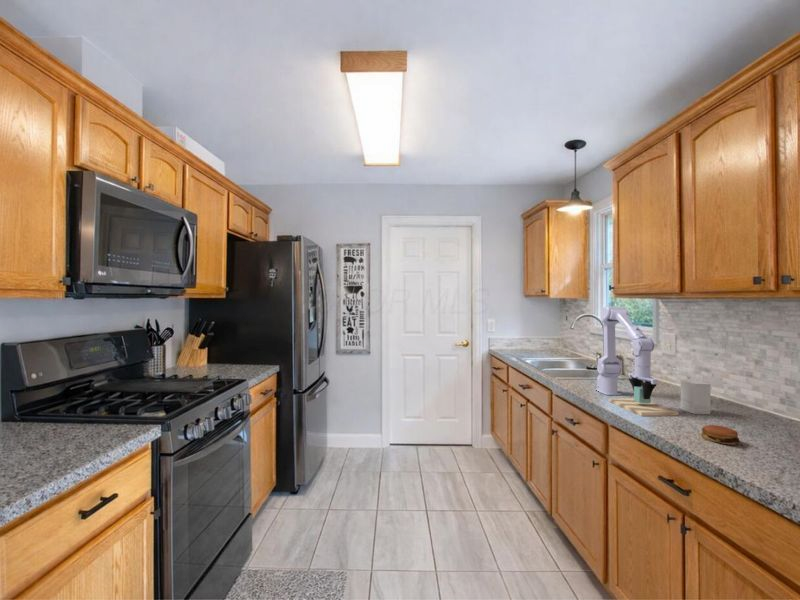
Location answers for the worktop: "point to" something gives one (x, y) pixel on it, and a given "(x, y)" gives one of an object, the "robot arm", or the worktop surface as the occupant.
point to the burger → (720, 434)
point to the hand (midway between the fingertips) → (642, 397)
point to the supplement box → (695, 396)
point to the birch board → (644, 408)
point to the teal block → (640, 395)
